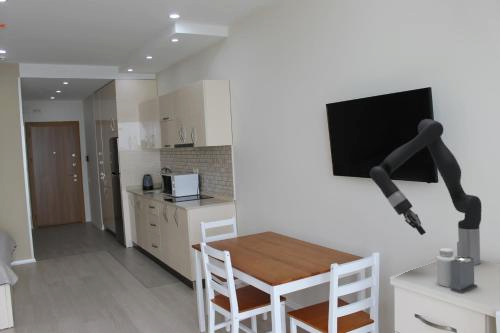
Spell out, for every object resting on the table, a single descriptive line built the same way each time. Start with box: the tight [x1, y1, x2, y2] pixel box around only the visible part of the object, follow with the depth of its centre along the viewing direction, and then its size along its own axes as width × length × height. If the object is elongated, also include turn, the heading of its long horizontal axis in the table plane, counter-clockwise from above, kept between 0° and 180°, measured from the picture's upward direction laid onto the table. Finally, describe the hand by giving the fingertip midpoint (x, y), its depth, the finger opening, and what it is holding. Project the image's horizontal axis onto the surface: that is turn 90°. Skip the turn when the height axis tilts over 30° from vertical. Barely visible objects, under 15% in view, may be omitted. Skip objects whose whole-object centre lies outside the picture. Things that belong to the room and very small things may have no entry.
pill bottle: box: [436, 247, 456, 288], centre depth 183 cm, size 8×8×15 cm
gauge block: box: [450, 255, 478, 295], centre depth 177 cm, size 6×11×13 cm, turn 123°
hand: (423, 233), depth 195 cm, fingers closed
